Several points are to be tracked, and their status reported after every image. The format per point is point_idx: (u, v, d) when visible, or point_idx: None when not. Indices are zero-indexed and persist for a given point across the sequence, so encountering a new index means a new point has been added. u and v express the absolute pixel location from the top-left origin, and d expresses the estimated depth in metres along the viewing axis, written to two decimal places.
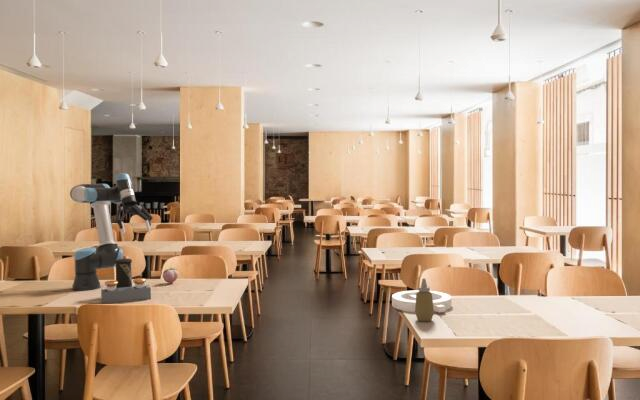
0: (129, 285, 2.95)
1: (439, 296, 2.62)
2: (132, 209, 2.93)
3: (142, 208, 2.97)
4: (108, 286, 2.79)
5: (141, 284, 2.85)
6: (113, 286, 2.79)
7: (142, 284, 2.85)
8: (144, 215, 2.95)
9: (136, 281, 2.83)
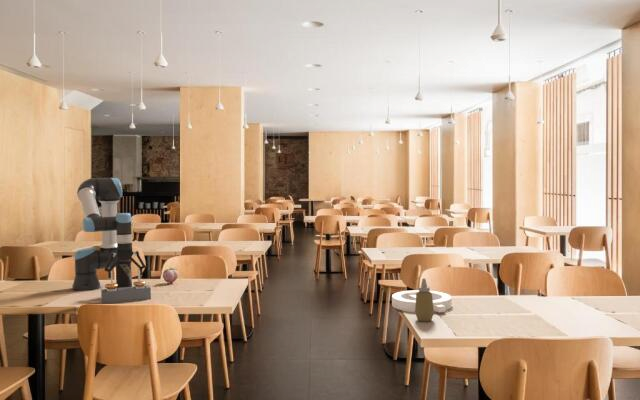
0: (129, 285, 2.95)
1: (439, 296, 2.62)
2: (125, 257, 2.82)
3: None
4: (108, 289, 2.79)
5: (141, 287, 2.85)
6: (113, 289, 2.79)
7: (142, 287, 2.85)
8: (137, 264, 2.84)
9: (136, 284, 2.83)
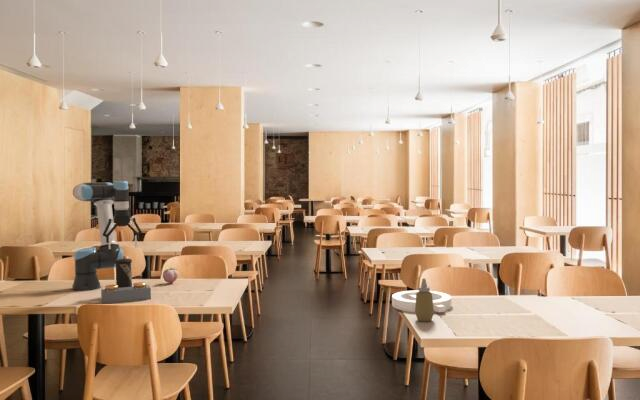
0: (129, 285, 2.95)
1: (439, 296, 2.62)
2: (122, 223, 2.94)
3: None
4: (108, 290, 2.79)
5: None
6: (113, 290, 2.79)
7: None
8: (134, 230, 2.97)
9: (136, 285, 2.83)
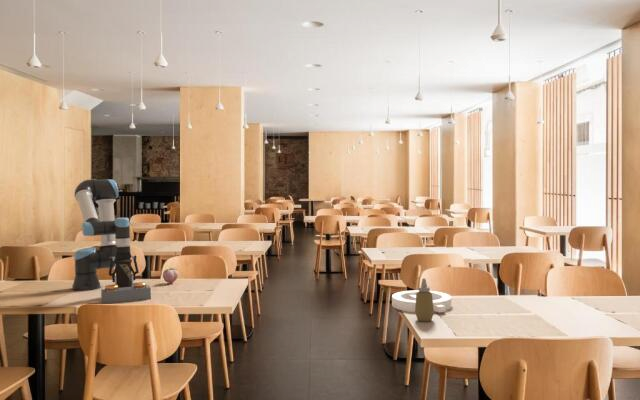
0: (129, 285, 2.95)
1: (439, 296, 2.62)
2: None
3: None
4: (108, 290, 2.79)
5: None
6: (113, 290, 2.79)
7: None
8: (131, 269, 2.97)
9: (136, 285, 2.83)
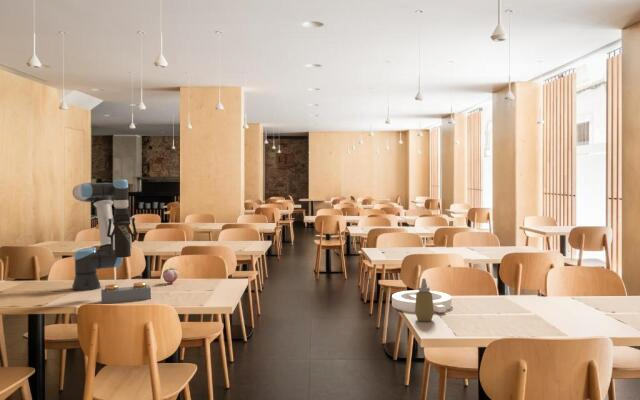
0: (127, 247, 2.95)
1: (439, 296, 2.62)
2: None
3: (132, 221, 2.97)
4: (108, 290, 2.79)
5: None
6: (113, 290, 2.79)
7: None
8: (130, 230, 2.97)
9: (136, 285, 2.83)
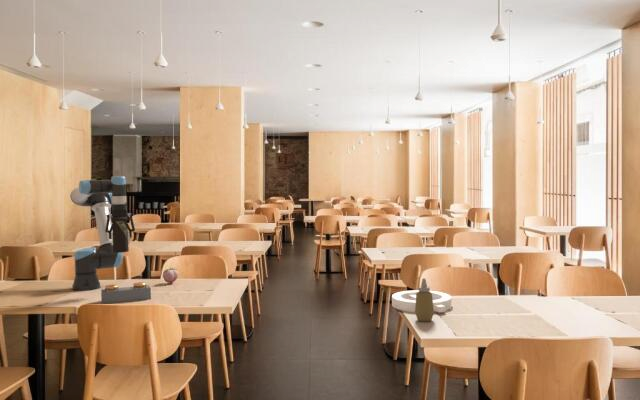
0: (125, 242, 3.01)
1: (439, 296, 2.62)
2: None
3: (130, 217, 3.03)
4: (108, 290, 2.79)
5: None
6: (113, 290, 2.79)
7: None
8: (128, 226, 3.03)
9: (136, 285, 2.83)
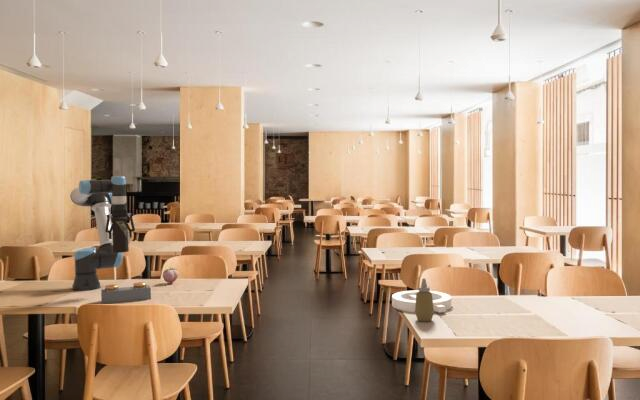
0: (125, 242, 3.01)
1: (439, 296, 2.62)
2: None
3: (130, 217, 3.03)
4: (108, 290, 2.79)
5: None
6: (113, 290, 2.79)
7: None
8: (128, 226, 3.03)
9: (136, 285, 2.83)
